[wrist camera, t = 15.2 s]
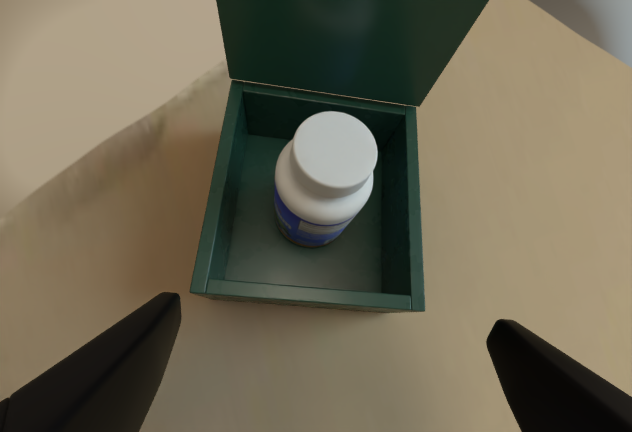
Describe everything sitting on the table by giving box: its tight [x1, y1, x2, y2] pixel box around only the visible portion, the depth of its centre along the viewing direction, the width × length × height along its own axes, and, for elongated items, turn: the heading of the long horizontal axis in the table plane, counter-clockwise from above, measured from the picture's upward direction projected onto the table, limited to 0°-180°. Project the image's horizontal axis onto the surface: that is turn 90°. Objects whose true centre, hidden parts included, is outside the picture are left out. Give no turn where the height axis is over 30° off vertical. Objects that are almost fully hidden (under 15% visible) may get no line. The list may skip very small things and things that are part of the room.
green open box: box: [190, 80, 425, 313], centre depth 21 cm, size 14×13×6 cm
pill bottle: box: [274, 111, 377, 248], centre depth 18 cm, size 5×5×10 cm
